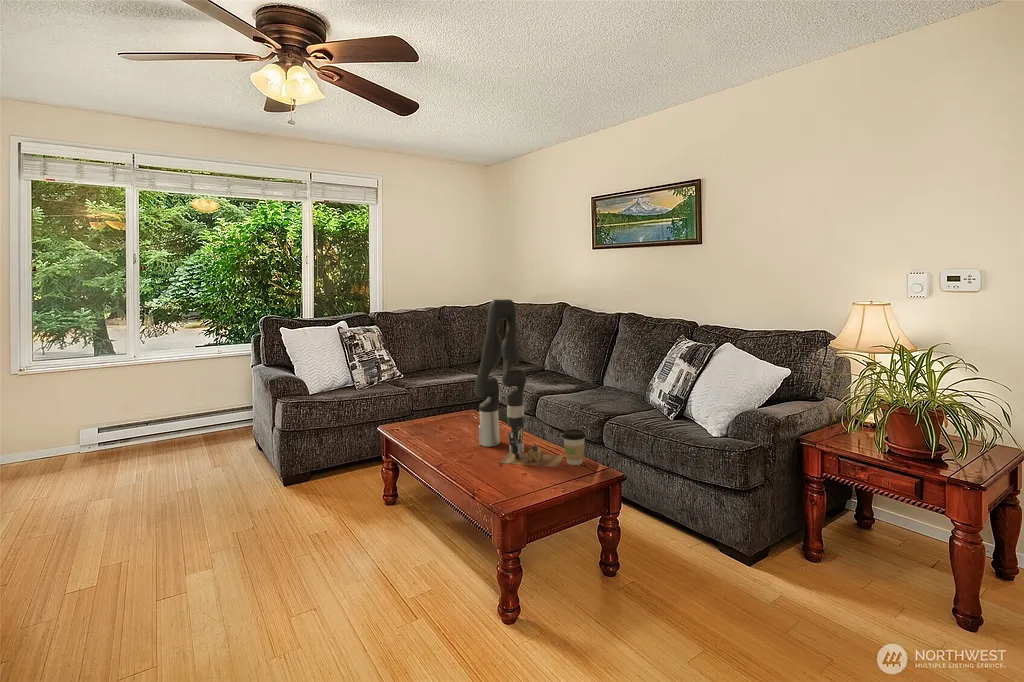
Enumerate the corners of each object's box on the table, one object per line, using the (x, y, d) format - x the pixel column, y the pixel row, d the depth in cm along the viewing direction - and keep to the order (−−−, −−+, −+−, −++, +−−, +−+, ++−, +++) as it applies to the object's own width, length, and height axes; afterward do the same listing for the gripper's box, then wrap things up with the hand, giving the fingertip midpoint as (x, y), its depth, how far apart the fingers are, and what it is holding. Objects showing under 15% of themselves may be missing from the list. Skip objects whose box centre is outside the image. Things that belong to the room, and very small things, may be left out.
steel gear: (509, 453, 233) (508, 444, 233) (512, 448, 239) (512, 440, 238) (521, 454, 232) (521, 445, 231) (524, 449, 237) (524, 441, 237)
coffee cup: (561, 462, 232) (560, 429, 230) (583, 460, 233) (582, 427, 231) (565, 470, 223) (564, 436, 221) (588, 469, 224) (587, 434, 221)
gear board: (499, 465, 231) (498, 449, 230) (509, 454, 244) (508, 439, 243) (557, 470, 223) (557, 453, 222) (564, 458, 236) (564, 442, 235)
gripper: (512, 410, 241) (513, 445, 243) (502, 418, 227) (504, 456, 230) (528, 410, 239) (529, 446, 241) (519, 419, 225) (520, 457, 227)
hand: (517, 451), depth 235 cm, fingers closed on steel gear, 5 cm apart
